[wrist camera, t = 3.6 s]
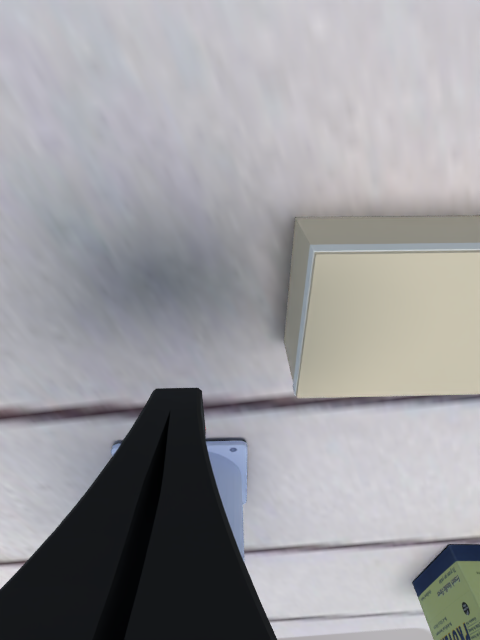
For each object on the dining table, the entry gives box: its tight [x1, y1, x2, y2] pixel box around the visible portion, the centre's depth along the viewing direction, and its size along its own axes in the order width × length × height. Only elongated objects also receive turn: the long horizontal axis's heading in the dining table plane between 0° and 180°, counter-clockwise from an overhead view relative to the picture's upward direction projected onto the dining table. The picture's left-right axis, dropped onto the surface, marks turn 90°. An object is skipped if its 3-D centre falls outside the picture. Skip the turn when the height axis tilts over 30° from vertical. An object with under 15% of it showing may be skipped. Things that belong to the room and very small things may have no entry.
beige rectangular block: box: [284, 216, 480, 398], centre depth 15 cm, size 10×7×4 cm
